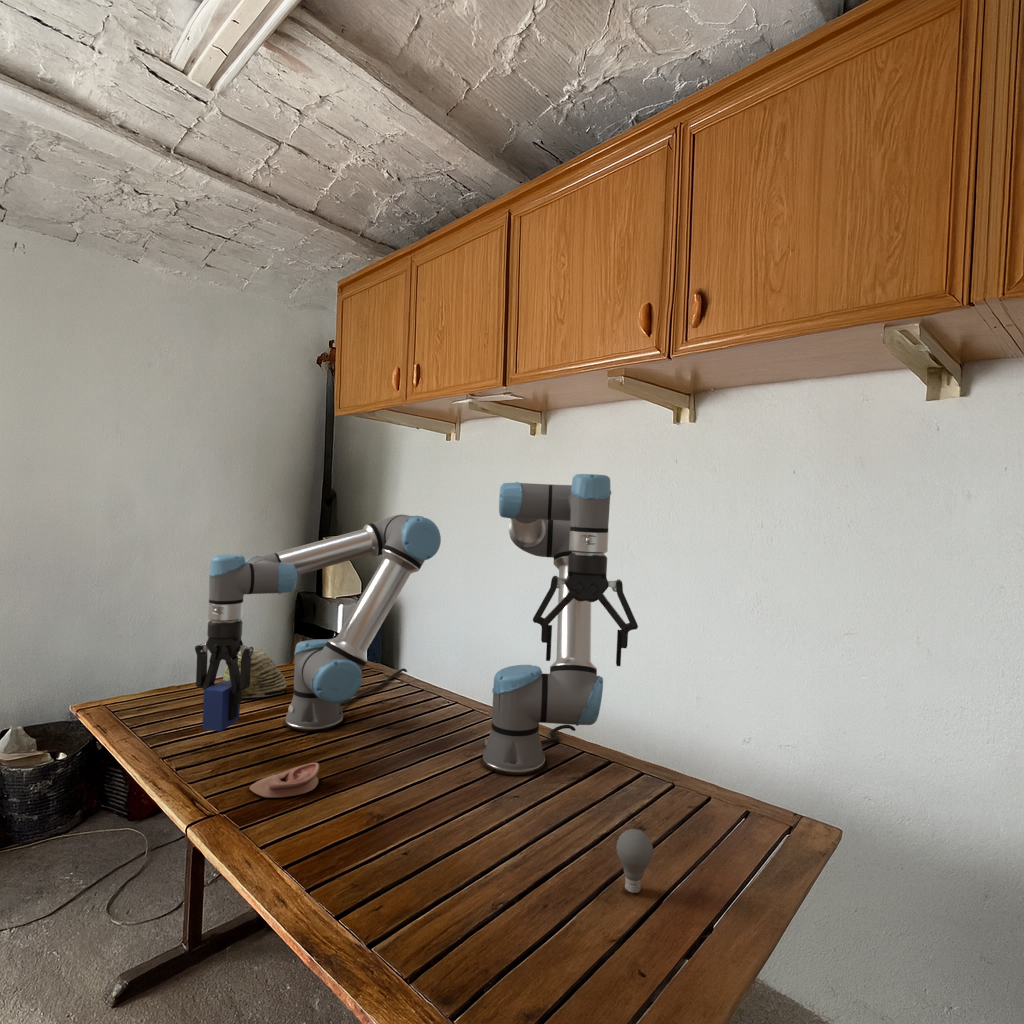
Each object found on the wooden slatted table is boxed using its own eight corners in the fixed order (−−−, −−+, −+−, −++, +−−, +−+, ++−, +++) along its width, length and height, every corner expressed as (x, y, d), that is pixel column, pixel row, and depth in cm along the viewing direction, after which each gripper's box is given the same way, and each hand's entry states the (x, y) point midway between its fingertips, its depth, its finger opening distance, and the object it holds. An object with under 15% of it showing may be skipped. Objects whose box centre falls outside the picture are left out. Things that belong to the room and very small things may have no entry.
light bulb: (610, 879, 108) (613, 822, 108) (644, 879, 109) (647, 822, 109) (619, 902, 102) (622, 840, 102) (655, 901, 103) (658, 840, 103)
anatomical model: (241, 775, 133) (272, 754, 144) (240, 794, 133) (272, 771, 144) (299, 783, 130) (326, 761, 142) (298, 802, 130) (325, 779, 142)
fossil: (218, 695, 195) (220, 647, 195) (278, 685, 208) (279, 640, 207) (228, 703, 189) (230, 653, 188) (289, 692, 201) (290, 645, 201)
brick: (202, 729, 147) (203, 689, 147) (221, 718, 155) (222, 680, 155) (221, 731, 146) (222, 691, 146) (239, 719, 154) (240, 681, 154)
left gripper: (180, 620, 147) (176, 720, 148) (253, 625, 146) (249, 725, 146) (199, 615, 155) (195, 709, 155) (268, 619, 153) (265, 715, 154)
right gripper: (522, 551, 121) (517, 661, 122) (655, 558, 118) (649, 671, 118) (526, 548, 129) (521, 652, 129) (651, 555, 126) (646, 661, 126)
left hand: (221, 717), depth 151 cm, fingers closed on brick, 5 cm apart
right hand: (583, 662), depth 124 cm, fingers open, 13 cm apart
